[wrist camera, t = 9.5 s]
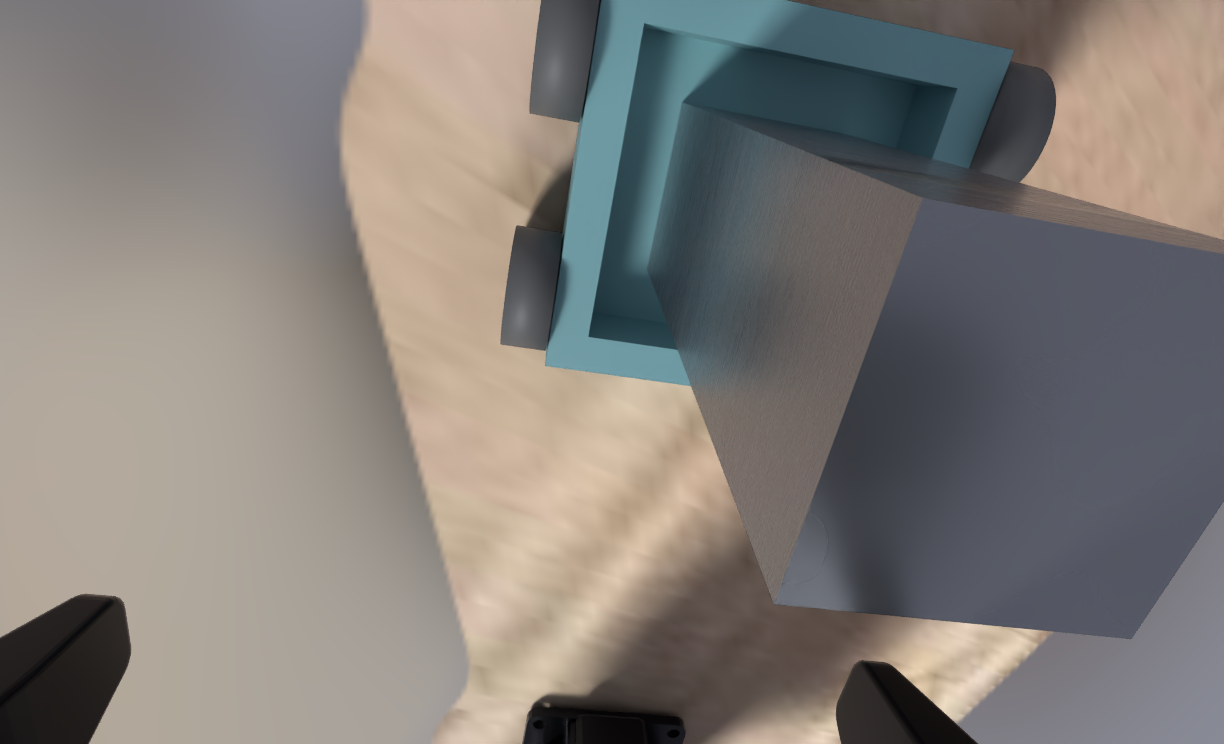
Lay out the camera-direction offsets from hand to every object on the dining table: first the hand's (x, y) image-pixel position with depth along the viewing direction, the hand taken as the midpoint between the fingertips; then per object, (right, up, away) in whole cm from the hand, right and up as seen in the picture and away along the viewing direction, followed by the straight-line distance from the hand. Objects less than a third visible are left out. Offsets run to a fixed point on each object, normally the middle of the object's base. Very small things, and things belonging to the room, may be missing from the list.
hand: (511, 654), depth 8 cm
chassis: (+5, +8, +11) cm, 14 cm away
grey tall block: (+5, +8, +10) cm, 14 cm away
